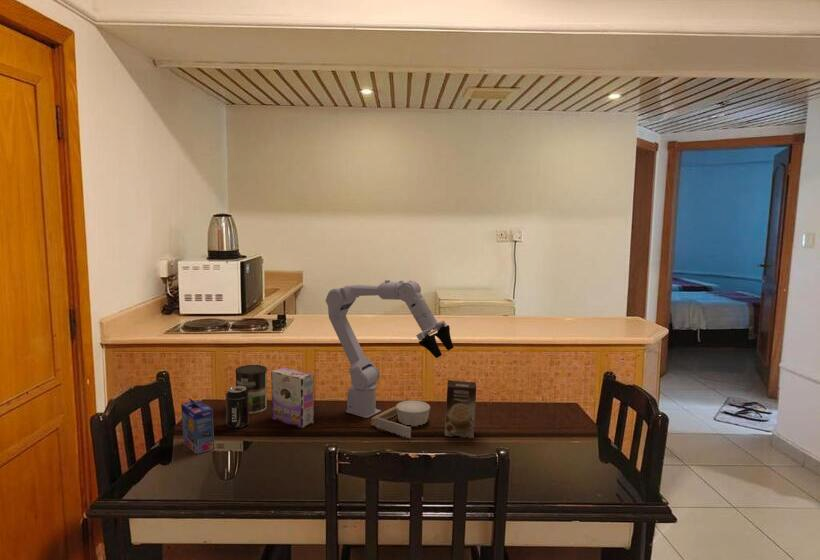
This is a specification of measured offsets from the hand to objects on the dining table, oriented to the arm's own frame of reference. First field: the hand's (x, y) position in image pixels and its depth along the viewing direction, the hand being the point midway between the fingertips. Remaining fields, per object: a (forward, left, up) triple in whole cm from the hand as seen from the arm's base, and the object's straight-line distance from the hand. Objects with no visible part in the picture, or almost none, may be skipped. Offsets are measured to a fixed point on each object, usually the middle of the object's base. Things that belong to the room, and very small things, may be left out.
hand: (445, 352), depth 166 cm
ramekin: (-11, -1, -25) cm, 27 cm away
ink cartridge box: (-49, -54, -25) cm, 78 cm away
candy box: (-42, -25, -25) cm, 55 cm away
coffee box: (+6, 0, -25) cm, 26 cm away
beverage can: (-53, -38, -25) cm, 70 cm away
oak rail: (-19, -6, -25) cm, 32 cm away
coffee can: (-61, -26, -25) cm, 71 cm away
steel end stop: (-10, -13, -25) cm, 30 cm away
